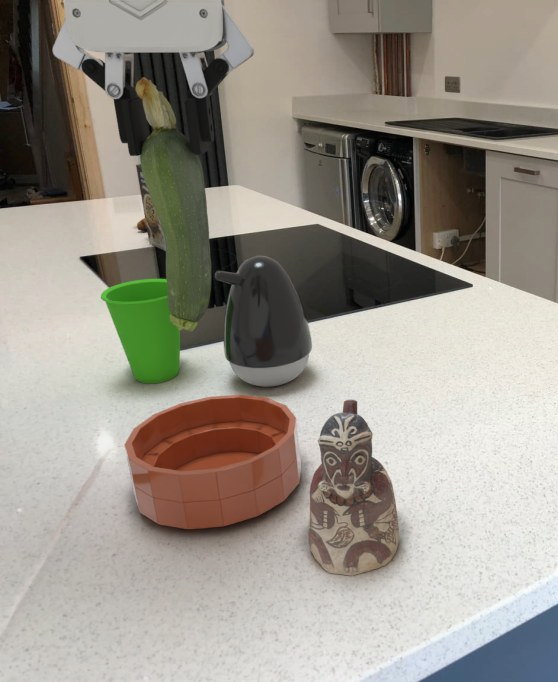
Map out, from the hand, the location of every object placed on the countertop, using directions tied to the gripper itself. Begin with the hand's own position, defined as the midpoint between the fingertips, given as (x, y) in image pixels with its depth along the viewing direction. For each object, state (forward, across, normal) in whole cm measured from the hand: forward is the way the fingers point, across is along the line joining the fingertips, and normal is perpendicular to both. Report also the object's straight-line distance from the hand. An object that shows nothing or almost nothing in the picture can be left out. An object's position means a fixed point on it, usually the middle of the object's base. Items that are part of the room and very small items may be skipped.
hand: (170, 150), depth 56 cm
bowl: (+30, 0, 0) cm, 30 cm away
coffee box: (+30, -25, +94) cm, 102 cm away
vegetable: (+15, 0, 0) cm, 15 cm away
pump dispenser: (+30, +2, +24) cm, 39 cm away
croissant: (+31, -29, +110) cm, 118 cm away
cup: (+30, -12, +27) cm, 42 cm away
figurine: (+30, +12, -10) cm, 34 cm away
